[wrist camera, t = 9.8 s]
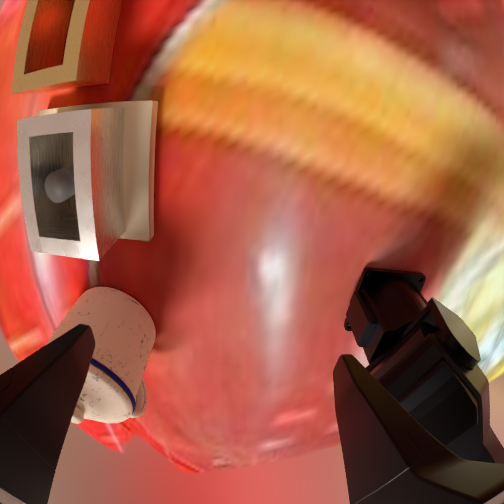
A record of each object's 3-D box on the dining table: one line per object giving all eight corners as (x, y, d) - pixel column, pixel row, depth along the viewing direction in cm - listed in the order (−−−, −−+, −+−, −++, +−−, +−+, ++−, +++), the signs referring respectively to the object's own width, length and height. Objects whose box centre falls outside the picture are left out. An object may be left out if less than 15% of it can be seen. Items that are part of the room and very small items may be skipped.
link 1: (64, -5, 12) (33, -18, 8) (128, -21, 12) (102, -43, 8) (47, 92, 16) (11, 94, 12) (109, 83, 16) (75, 80, 12)
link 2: (56, 113, 16) (17, 119, 12) (124, 107, 16) (91, 109, 12) (62, 225, 20) (30, 250, 16) (125, 231, 20) (98, 261, 16)
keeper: (158, 101, 17) (128, 99, 12) (154, 234, 22) (130, 268, 17) (46, 110, 17) (3, 116, 12) (52, 224, 21) (18, 251, 17)
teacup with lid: (61, 294, 25) (2, 377, 14) (127, 270, 23) (63, 374, 13) (123, 375, 30) (94, 458, 19) (189, 365, 28) (170, 465, 18)
